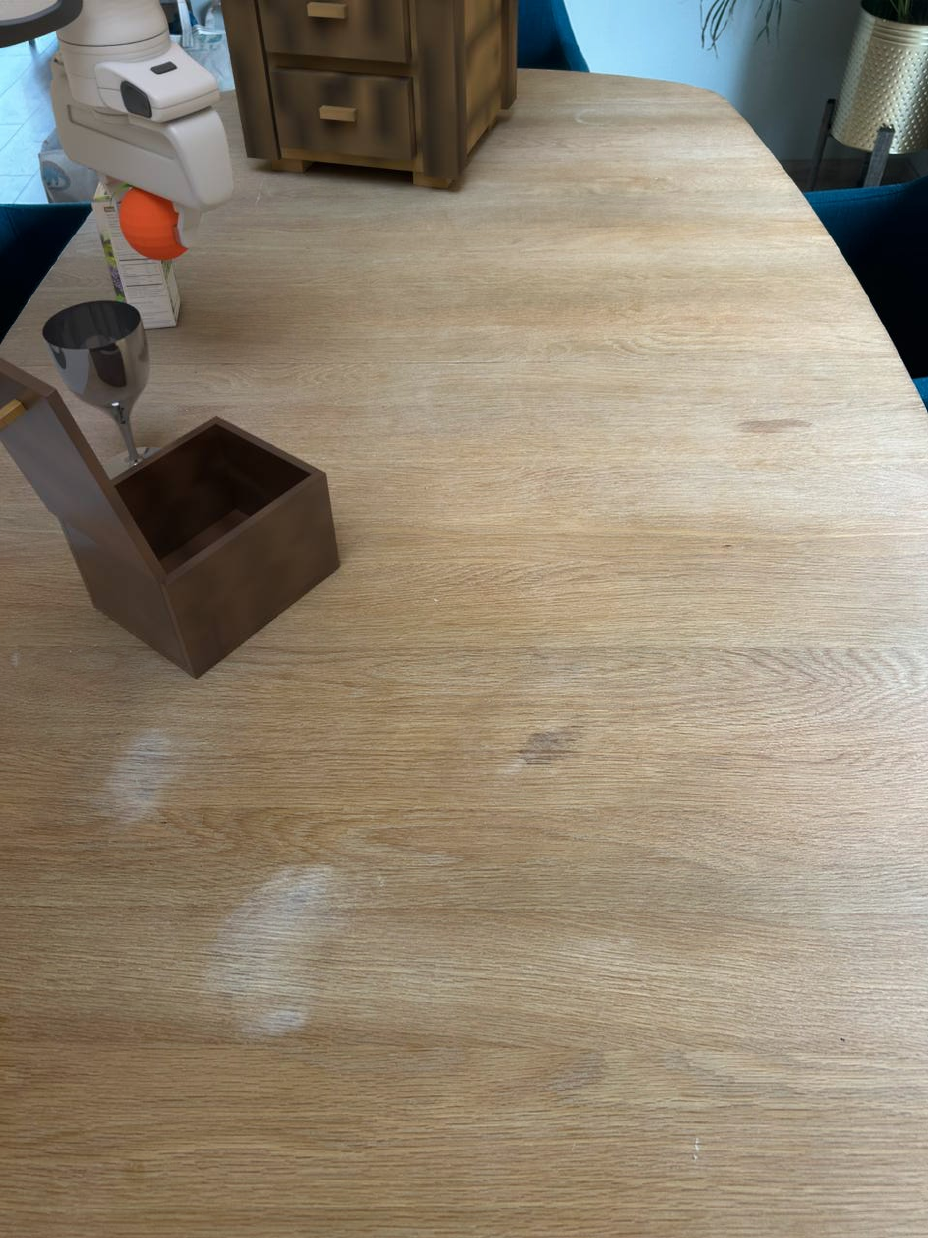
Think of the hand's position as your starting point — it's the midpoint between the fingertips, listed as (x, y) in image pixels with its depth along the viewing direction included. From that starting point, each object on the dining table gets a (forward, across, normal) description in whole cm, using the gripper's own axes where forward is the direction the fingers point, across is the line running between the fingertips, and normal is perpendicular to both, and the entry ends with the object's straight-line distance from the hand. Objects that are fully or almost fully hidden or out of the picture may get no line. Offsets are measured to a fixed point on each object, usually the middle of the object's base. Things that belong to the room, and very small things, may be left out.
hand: (158, 231), depth 93 cm
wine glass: (+16, +8, -14) cm, 22 cm away
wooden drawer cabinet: (+15, -25, +58) cm, 65 cm away
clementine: (+3, 0, 0) cm, 3 cm away
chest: (+15, +26, -20) cm, 36 cm away
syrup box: (+16, -13, +6) cm, 21 cm away
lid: (-3, +26, -29) cm, 39 cm away
